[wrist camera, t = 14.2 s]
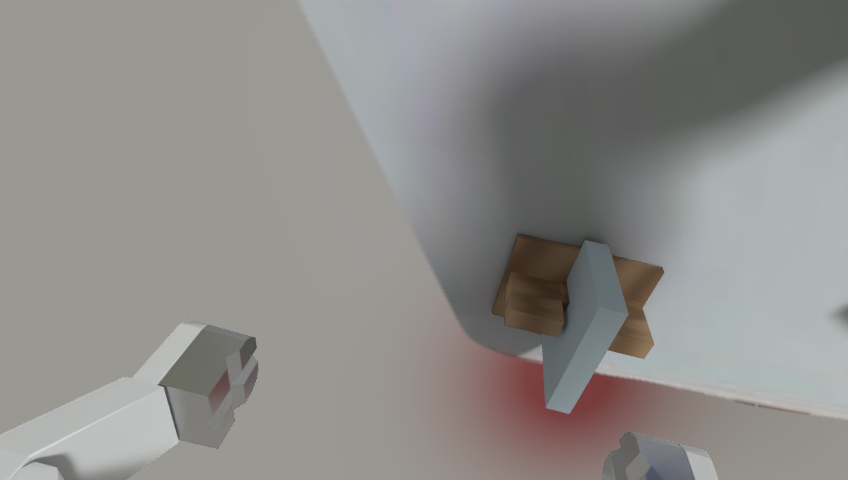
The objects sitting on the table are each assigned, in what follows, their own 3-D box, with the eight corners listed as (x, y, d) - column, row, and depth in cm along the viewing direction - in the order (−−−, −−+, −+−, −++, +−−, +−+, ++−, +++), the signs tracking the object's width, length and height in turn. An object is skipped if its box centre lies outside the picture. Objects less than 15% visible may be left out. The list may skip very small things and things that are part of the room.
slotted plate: (584, 239, 45) (599, 307, 37) (608, 245, 45) (628, 314, 37) (541, 335, 53) (545, 407, 45) (561, 340, 53) (569, 413, 45)
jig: (662, 267, 46) (681, 312, 40) (618, 339, 52) (630, 387, 47) (518, 233, 47) (518, 273, 41) (492, 309, 53) (489, 352, 48)
